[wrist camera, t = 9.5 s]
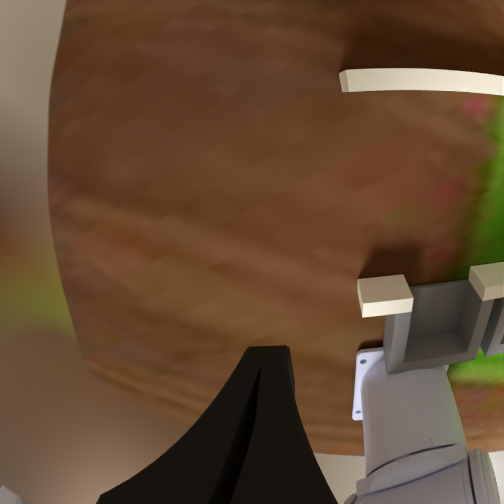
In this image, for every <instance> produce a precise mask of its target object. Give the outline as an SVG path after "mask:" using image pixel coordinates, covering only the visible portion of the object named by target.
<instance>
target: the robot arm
mask: <svg viewBox="0 0 504 504" xmlns="http://www.w3.org/2000/svg"><path fill="white" fill-rule="evenodd" d="M363 359H365V360H363ZM448 367H449V365H445V366H439V367H434V368H428V369H418V370H411V371H406V372H402V373H395V374H387V370H386V365H385V360H384V347H379V348H370V349H362V350H360V351H358V352H357V356H356V374H355V388H354V401H353V412H352V418H353V419H354V420H363V429H364V446H365V465H366V478H364V479H361V480H358V481H357V482H356V483H357V484H356V486H357V493H355V494H352V495H351V496H350V497H349V498H348V499H347V500H346V501H345V503H344V504H500V499H499V492H498V487H497V482H496V478H495V474H494V470H493V466H492V463H491V460H490V457H489V454H488V453H487V452H485V451H481V450H480V449H478V448H477V449H475V450H473V451H471V452H470V451H469V449H468V447H467V443H466V439H465V435H464V431H463V427H462V423H461V420H460V416H459V413H458V409H457V406H456V402H455V399H454V396H453V392H452V389H451V386H450V383H449V380H448V377H447V374H446V373H447V370H448ZM0 504H30V503H28V502H27V501H25V500H24V499H22V498H21V497H19V496H18V495H16V494H15V493H14V492H12V491H11V490H9V489H8V488H7V487H5V486H2V487H1V489H0ZM96 504H338V502H337V501H336V499H335V497H334V495H333V493H332V492H331V490H330V488H329V486H328V484H327V482H326V480H325V477H324V476H323V473H322V471H321V469H320V467H319V465H318V463H317V461H316V458H315V456H314V454H313V451H312V449H311V446H310V444H309V441H308V439H307V436H306V433H305V430H304V428H303V425H302V422H301V419H300V415H299V412H298V409H297V405H296V402H295V381H294V374H293V368H292V361H291V355H290V348H289V347H287V346H286V345H283V346H256V347H248V348H247V349H246V351H245V352H244V354H243V356H242V358H241V360H240V361H239V363H238V365H237V366H236V368H235V370H234V371H233V373H232V374H231V376H230V377H229V379H228V380H227V382H226V383H225V385H224V386H223V388H222V389H221V391H220V392H219V394H218V395H217V396H216V398H215V399H214V400H213V402H212V403H211V404H210V405H209V407H208V408H207V409H206V410H205V412H204V413H203V414H202V415H201V417H200V418H199V419H198V420H197V421H196V422H195V424H194V425H193V426H192V427H191V428H190V429H189V430H188V431H187V432H186V433H185V434H184V435H183V436H182V437H181V438H180V439H179V440H178V441H177V442H176V443H175V444H174V445H173V446H172V447H171V448H169V449H168V450H167V451H166V452H165V453H164V454H163V455H161V456H160V457H159V458H158V459H156V460H155V461H154V462H153V463H151V464H150V465H148V466H147V467H146V468H144V469H143V470H142V471H140V472H139V473H137V474H136V475H135V476H133V477H132V478H130V479H129V480H127V481H125V482H123V483H121V484H120V485H118V486H116V487H114V488H113V489H111V490H109V491H107V492H105V493H103V494H101V495H100V497H99V499H98V501H97V503H96Z"/></svg>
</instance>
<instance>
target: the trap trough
mask: <svg viewBox="0 0 504 504" xmlns="http://www.w3.org/2000/svg"><path fill="white" fill-rule="evenodd" d="M339 76H340V82H341V88H342V92H355V91H375V90H443V91H462V92H475V93H486V94H495V95H504V76H498V75H491V74H483V73H475V72H465V71H454V70H440V69H416V68H377V69H353V70H345V71H343V72H341V73H339ZM358 297H359V302H360V307H361V312H362V317H371V316H381V315H386V319H385V329H384V339H383V347H384V360H385V365H386V370H387V374H395V373H402V372H406V371H411V370H418V369H428V368H434V367H439V366H445V365H450V364H455V363H460V362H464V361H469V360H474V359H475V357H476V355H477V352H478V349H479V347H480V346H481V348H482V350H483V352H484V355H485V357H487V356H491V355H495V354H499V353H502V352H504V262H499V263H491V264H484V265H477V266H470V271H469V277H468V279H465V280H458V281H451V282H443V283H435V284H427V285H419V286H411V287H409V286H408V284H407V282H406V279H405V277H404V275H403V274H402V275H393V276H383V277H373V278H363V279H358Z"/></svg>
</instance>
